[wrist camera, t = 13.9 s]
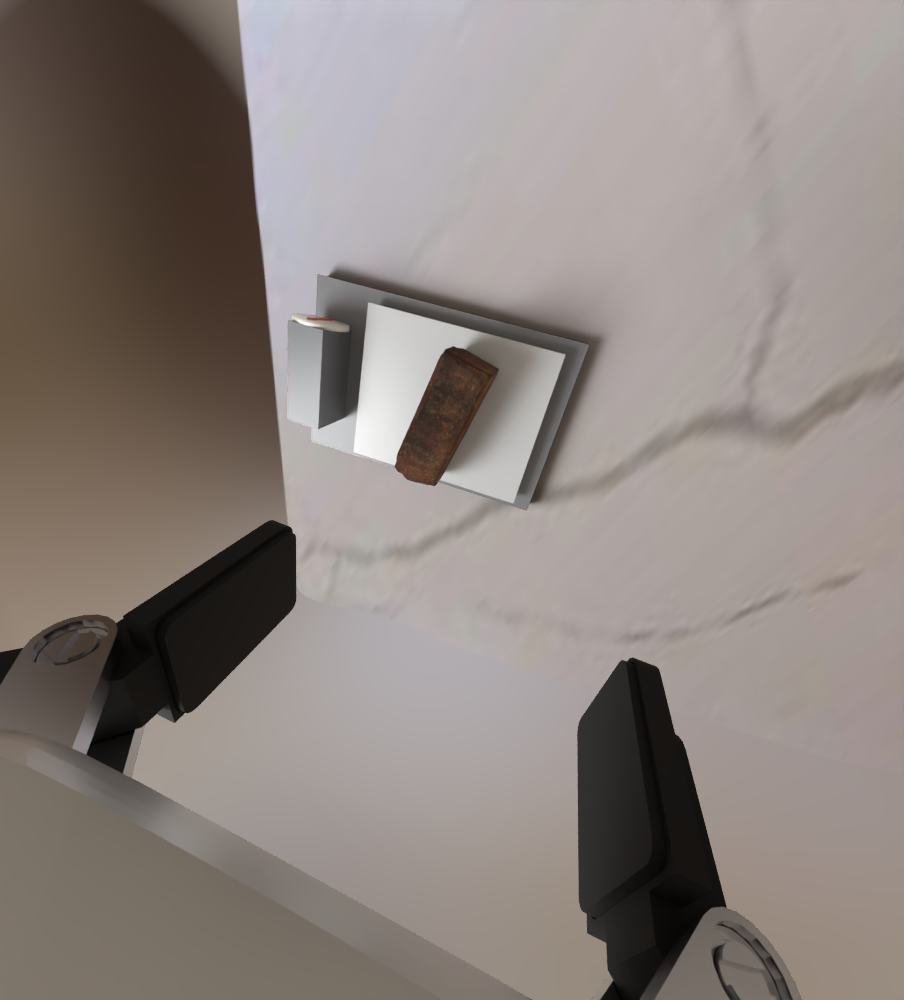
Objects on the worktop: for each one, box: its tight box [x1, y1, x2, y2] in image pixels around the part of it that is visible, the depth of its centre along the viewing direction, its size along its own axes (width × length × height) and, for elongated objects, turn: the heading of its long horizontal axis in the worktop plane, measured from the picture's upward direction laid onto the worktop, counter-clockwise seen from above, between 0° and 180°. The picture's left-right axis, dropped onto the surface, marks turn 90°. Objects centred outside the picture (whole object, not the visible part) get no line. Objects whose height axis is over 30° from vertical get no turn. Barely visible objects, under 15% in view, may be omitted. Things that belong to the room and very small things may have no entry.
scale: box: [287, 274, 589, 511], centre depth 31 cm, size 23×15×6 cm, turn 77°
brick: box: [395, 346, 499, 486], centre depth 29 cm, size 11×4×5 cm, turn 153°
